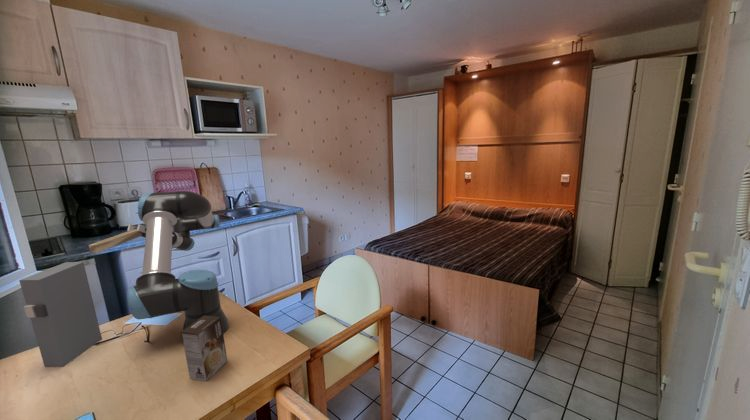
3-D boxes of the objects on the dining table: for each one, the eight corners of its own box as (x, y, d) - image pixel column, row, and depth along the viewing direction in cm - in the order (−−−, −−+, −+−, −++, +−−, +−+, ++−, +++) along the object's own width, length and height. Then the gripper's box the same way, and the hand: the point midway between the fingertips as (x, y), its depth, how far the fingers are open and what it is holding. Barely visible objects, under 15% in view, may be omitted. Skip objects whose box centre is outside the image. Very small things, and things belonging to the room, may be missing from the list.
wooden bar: (151, 232, 137) (149, 225, 136) (99, 253, 112) (97, 244, 111) (143, 232, 137) (142, 225, 136) (90, 253, 112) (87, 244, 111)
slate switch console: (102, 339, 111) (83, 261, 104) (59, 369, 96) (35, 281, 90) (85, 339, 111) (66, 262, 104) (41, 369, 96) (15, 281, 90)
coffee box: (211, 358, 100) (204, 314, 97) (228, 360, 99) (221, 316, 95) (188, 378, 91) (180, 331, 88) (206, 382, 90) (199, 334, 86)
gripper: (185, 246, 151) (150, 235, 128) (152, 246, 151) (112, 236, 129) (187, 231, 153) (154, 218, 131) (155, 231, 153) (116, 219, 131)
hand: (133, 227), depth 130 cm, fingers closed on wooden bar, 3 cm apart
